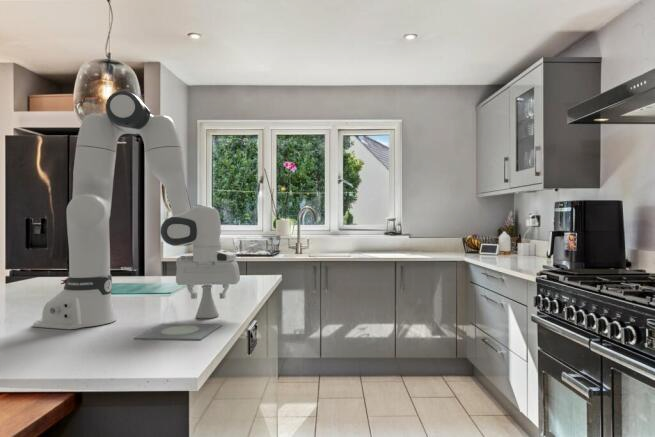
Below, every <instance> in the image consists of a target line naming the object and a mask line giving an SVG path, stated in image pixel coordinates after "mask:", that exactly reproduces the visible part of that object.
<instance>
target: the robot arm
mask: <svg viewBox="0 0 655 437" xmlns="http://www.w3.org/2000/svg"><path fill="white" fill-rule="evenodd" d="M176 126H177V125H176V124H175V122H174V120H173V119H172V118H171V117H169V116H167V115H162V114H157V115H156V114H155V115H154V114H151V110H150V109H149V108H148V107H147V106H146V104H145V103H144V102H143V100H141V99H140V97H138V96H137V95H136V94H135V93H132V92H130V91H127V90H126V91H125V90H119V91H115V92H113V93H112V94H111V95H110V96H109V97H108V98H107V100H106V102H105V113H90V114H88V115H86V116H84V117H83V118H82V121H81V124H80V127H79V131H78V133H77V139H76V145H75V146H76V147H75V153H74V163H73V171H72V174H73V176H72V177H73V178H72V179H73V180H72V197H71V198H72V199H71V200H70V201H69V202H68V204H67V207H66V212H65V213H66V229H67V241H68V262H69V263H68V267H69V268H68V277H67V278H65V279H62V280H60V282H61V283H60V285H64V287H63V290H61V291H60V292H59V293H58V294H56V295H54V297H53V298H51V299H50V300H49V301H47V302H46V303H45V304H44V306H43V310H42V315H41V319H39V320H38V319H37V320H35V321H34V322H32V327H33V328H44V329H45V328H48V329H57V330H58V329H60V330H75V329H76V330H77V329H82V328H86V327H96V326H97V327H98V326H102V325H106V324H110V323H113V322H115V321H117V317H116V313H115V309H114V306H113V299H112V289H113V282H112V281H113V280H112V279H113V278H112V277H113V276H112V274H111V248H110V247H111V244H110V218H111V211H112V210H111V209H112V199H113V188H114V177H115V166H116V158H117V147H118V142H119V138H128V137H135V136H136V137H137V136H140V137H141V139H142V142H143V144H144V145H143V146H144V151H145V157H146V161H147V165H148V167H149V169H150V172H151V174H152V175H153V176H154V177H155V178H156V179H157V180H158V181H159V182H160V183H161V184H162V186H163V187H164V189H165V191H166V194H167V197H168V202H169V205H170V209H171V214H172V216H171V217H168V218H167V219H165V220H164V221H163V222H162V224H161V227H160V236H161V238H162V240H163V241H164V242H165V244H168V245H170V246H173V247H174V246H175V247H187V246H192V255H180V257H178V258H177V259H176V260H175V262H176V263H175V268H176V271H175V272H176V273H175V282H176V284H177V285H178V286H186V289H187V291H188V292H189V294H190V299H191V300H195V299H196V300H197V299H198V292H195V291H194V287H195V286H199V285H200V286H203V285H212V286H214V285H220V286H221V285H222V289H223V290H222V291H221V292H219V299H220V300H222V299H223V300H224V299H226V296H227V295H226V293H227V291H228V289H230V288H229V287H230V285H236V284H238V283H239V282H240V281H241V275H240V274H241V272H240V267H239V264H238V262H237V261H236V259H237V253H235V252H232V251H229V250H225V249H222V243H221V233H222V228H221V227H222V225H221V217H220V216H221V215H220V212H219V210H218V209H217V208H216V207H215V206H210V205H203V204H195V205H194V206H192V207H191V203H190V197H189V194H188V189H187V185H186V175H185V162H184V161H185V160H184V153H183V147H182V142H181V138H180V135H179V131H178V129H177V127H176Z"/></svg>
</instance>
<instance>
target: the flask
mask: <svg viewBox="0 0 655 437" xmlns="http://www.w3.org/2000/svg"><path fill="white" fill-rule="evenodd" d="M212 287H213V285H201V288H202V293H201V295H202V296H201V299H200V303H199V305H198V309H197V312H196V314H195V318H196V319H202V320H205V319H213V318H217V317H219V315H220V313H219V311H218V309H217V306H216V304H215V301H214V298H213V294H212Z"/></svg>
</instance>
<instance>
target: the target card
mask: <svg viewBox="0 0 655 437" xmlns="http://www.w3.org/2000/svg"><path fill="white" fill-rule="evenodd" d="M221 327H223V323H221V324H219V323H214V324H213V323H212V324H211V323H161V324H158V325H157V326H155V327H152V328H150V329H149V330H147V331H145V332H142V333H141V334H138V335H136V336H134V337H133V340H153V341H154V340H161V341H162V340H163V341H164V340H167V341H171V340H172V341H202V340H203V339H205V338H206V337H208V336H209V335H211V334H212V333H214V332H215V331H216V330H218V329H219V328H221ZM213 331H214V332H213ZM210 333H211V334H210ZM207 335H208V336H207Z"/></svg>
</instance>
